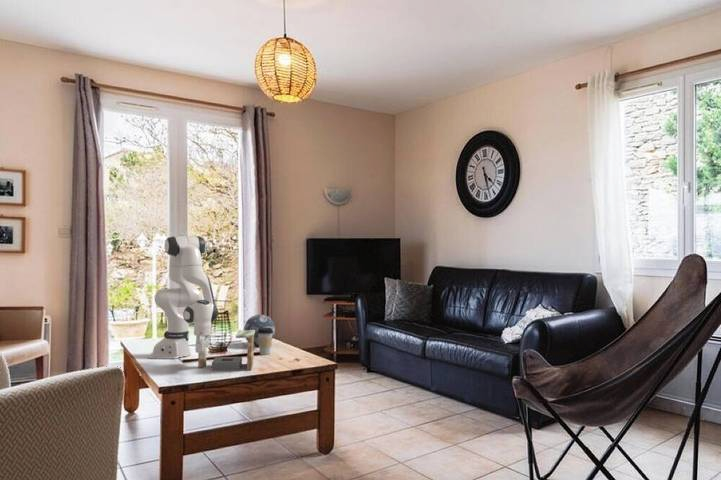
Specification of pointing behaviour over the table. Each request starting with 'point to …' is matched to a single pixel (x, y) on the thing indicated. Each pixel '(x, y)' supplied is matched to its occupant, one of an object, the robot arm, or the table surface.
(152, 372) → the table surface
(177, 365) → the table surface
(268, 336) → the coffee cup
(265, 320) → the decorative ball
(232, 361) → the socket
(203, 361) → the beech peg
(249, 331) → the awning
